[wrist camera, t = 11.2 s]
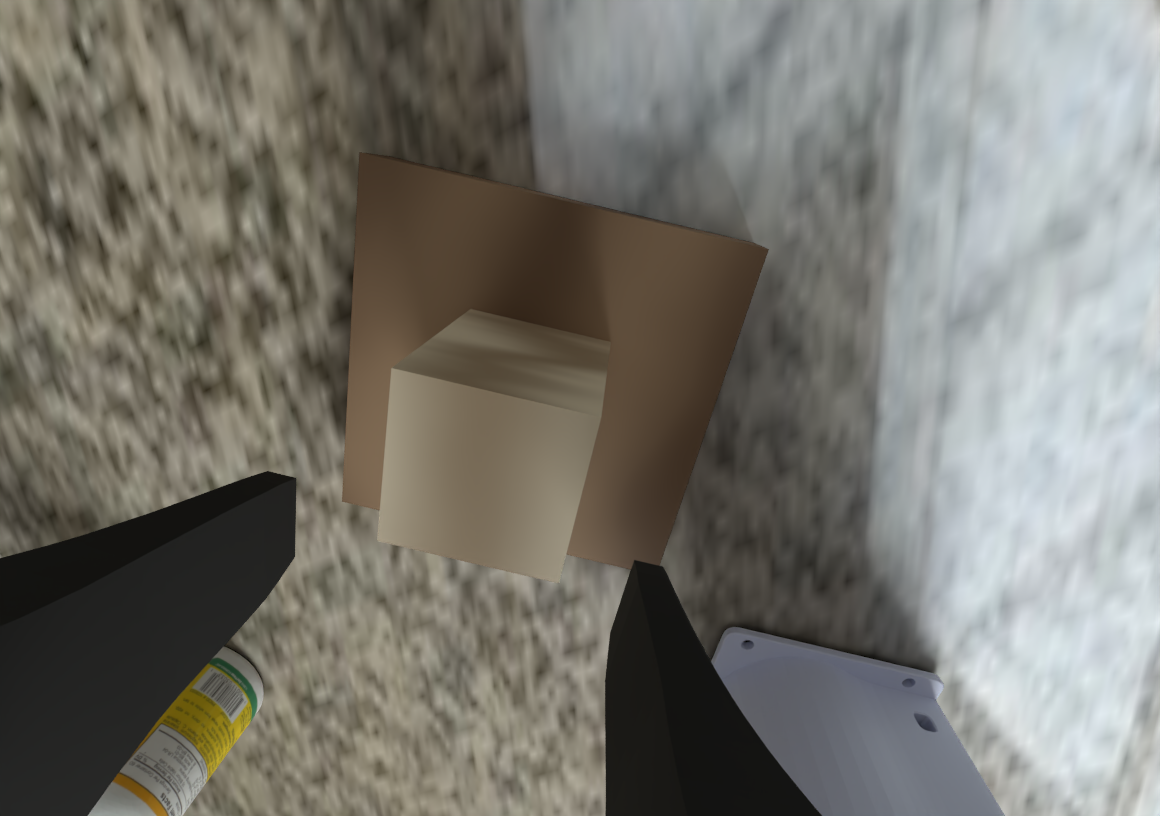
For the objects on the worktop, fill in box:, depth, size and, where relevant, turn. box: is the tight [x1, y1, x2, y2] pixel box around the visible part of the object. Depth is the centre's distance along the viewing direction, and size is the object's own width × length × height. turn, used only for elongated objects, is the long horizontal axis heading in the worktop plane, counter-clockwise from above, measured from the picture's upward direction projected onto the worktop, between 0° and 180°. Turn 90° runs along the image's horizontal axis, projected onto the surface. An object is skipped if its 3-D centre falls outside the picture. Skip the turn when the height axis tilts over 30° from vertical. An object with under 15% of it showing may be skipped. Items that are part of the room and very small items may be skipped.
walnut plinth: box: [342, 152, 769, 569], centre depth 19 cm, size 12×12×2 cm
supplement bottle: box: [88, 646, 264, 816], centre depth 23 cm, size 5×5×10 cm
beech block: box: [377, 309, 611, 583], centre depth 15 cm, size 4×4×6 cm
